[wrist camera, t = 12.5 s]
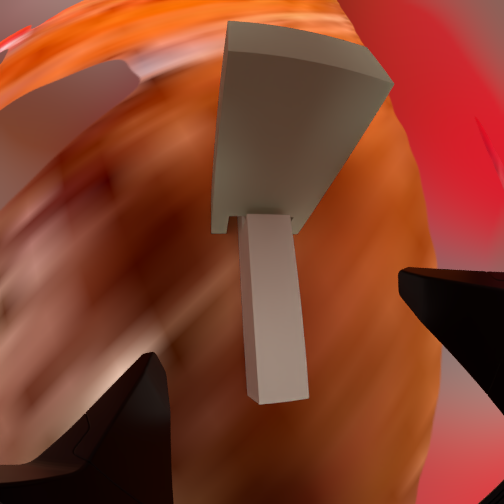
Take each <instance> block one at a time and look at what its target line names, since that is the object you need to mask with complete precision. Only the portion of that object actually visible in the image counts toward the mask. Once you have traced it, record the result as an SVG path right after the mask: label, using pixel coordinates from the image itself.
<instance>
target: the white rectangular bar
mask: <svg viewBox="0 0 504 504" xmlns="http://www.w3.org/2000/svg"><path fill="white" fill-rule="evenodd" d="M237 219H238V241H239V261H240V280H241V299H242V317H243V334H244V350H245V366H246V382H247V395H248V396H249V397H250V398H252V399H253V400H254V401H256V402H257V403H258V404H259V405H260V404H270V403H279V402H287V401H294V400H301V399H308V398H309V390H308V376H307V364H306V352H305V340H304V329H303V319H302V309H301V300H300V291H299V282H298V273H297V265H296V257H295V249H294V241H293V233H292V226H291V219H290V215H273V214H247V215H246V216H237Z"/></svg>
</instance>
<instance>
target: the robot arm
mask: <svg viewBox="0 0 504 504" xmlns="http://www.w3.org/2000/svg"><path fill="white" fill-rule="evenodd" d="M398 288H399V294H400V296H401V298H402V299H403V300H404V301H405V303H406V304H407V305H408V306H409V307H410V309H411V310H412V311H413V312H414V314H415V315H416V316H417V318H418V319H419V320H420V321H421V322H422V323H423V325H424V326H425V327H426V328H427V329H428V330H429V331H430V332H431V333H432V334H433V335H434V336H435V337H436V338H437V339H438V340H439V341H440V342H441V343H442V344H443V345H444V347H445V348H446V349H448V351H449V352H450V353H451V354H452V355H453V356H454V357H455V358H456V359H457V361H458V362H459V363H460V364H461V365H462V366H463V367H464V368H465V369H466V371H467V372H468V373H469V374H470V375H471V376H472V377H473V379H474V380H475V381H476V382H477V383H478V384H479V385H480V387H481V388H482V389H483V390H484V391H485V393H486V394H488V396H489V398H490V399H491V400H492V401H493V403H494V404H495V405H496V406H497V407H498V409H499V410H500V411H501V412H502V414H503V415H504V272H485V271H466V270H449V269H432V268H414V267H407V268H404V269H402V270H400V271H399V273H398ZM0 504H173V490H172V471H171V433H170V405H169V396H168V387H167V377H166V372H165V370H164V368H163V366H162V364H161V362H160V360H159V359H158V357H157V355H156V354H155V353H154V352H149V353H145V354H143V355H141V356H140V358H139V359H138V360H137V361H136V362H135V363H134V364H133V365H132V366H131V367H130V368H129V369H128V370H127V371H126V372H125V373H124V374H123V375H122V376H121V377H120V378H119V379H118V380H117V381H116V382H115V383H114V384H113V385H112V386H111V387H110V388H109V389H108V390H107V391H106V392H105V393H104V394H103V395H102V396H101V397H100V398H99V399H98V401H97V402H96V403H95V404H94V405H93V406H92V407H91V408H90V409H89V410H88V411H87V412H86V414H84V415H83V416H82V417H81V418H80V419H79V420H78V421H77V422H76V423H75V424H74V425H73V426H72V427H71V428H70V429H69V430H68V431H67V432H66V433H65V434H63V435H62V436H61V437H60V438H59V439H58V440H57V441H56V442H54V443H53V444H52V445H51V446H50V447H49V448H47V449H46V450H45V451H44V452H43V453H42V454H41V455H39V456H38V457H37V458H36V459H34V460H33V461H31V462H29V463H26V464H21V465H0ZM479 504H504V480H503V481H502V482H501V483H500V484H499V485H498V486H497V487H496V488H495V489H494V490H493V491H492V492H491V493H489V495H487V496H486V497H485V498H484V499H483V500H482V501H481V502H479Z"/></svg>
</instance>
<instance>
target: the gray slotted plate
mask: <svg viewBox="0 0 504 504" xmlns="http://www.w3.org/2000/svg"><path fill="white" fill-rule="evenodd" d="M393 85H394V83H393V81H392V80H391V79H390V77H389V76H388V74H387V73H386V72H385V70H384V69H383V68H382V66H381V65H380V64H379V62H378V61H377V60H376V58H375V57H374V56H373V55H372V53H371V52H370V51H369V50H368V48H367V47H364V46H361V45H358V44H355V43H351V42H348V41H344V40H341V39H337V38H333V37H330V36H326V35H321V34H317V33H313V32H308V31H303V30H298V29H293V28H287V27H281V26H274V25H267V24H259V23H249V22H237V21H228V24H227V31H226V39H225V47H224V55H223V63H222V72H221V81H220V91H219V101H218V111H217V122H216V134H215V146H214V160H213V174H212V191H211V234H226V232H227V225H228V220H229V216H246V215H247V214H273V215H290V219H291V226H292V233H293V234H298V233H299V231H300V230H301V228H302V227H303V226H304V224H305V223H306V221H307V220H308V218H309V217H310V215H311V214H312V212H313V211H314V209H315V208H316V206H317V205H318V203H319V202H320V200H321V199H322V197H323V196H324V194H325V193H326V191H327V190H328V188H329V187H330V185H331V184H332V182H333V180H334V179H335V177H336V176H337V174H338V173H339V171H340V170H341V168H342V167H343V165H344V164H345V162H346V161H347V159H348V157H349V156H350V154H351V153H352V151H353V150H354V148H355V146H356V145H357V143H358V142H359V140H360V139H361V137H362V135H363V134H364V132H365V131H366V129H367V128H368V126H369V124H370V123H371V121H372V120H373V118H374V116H375V115H376V113H377V112H378V110H379V108H380V107H381V105H382V104H383V102H384V100H385V99H386V97H387V95H388V94H389V92H390V90H391V89H392V87H393Z"/></svg>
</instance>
